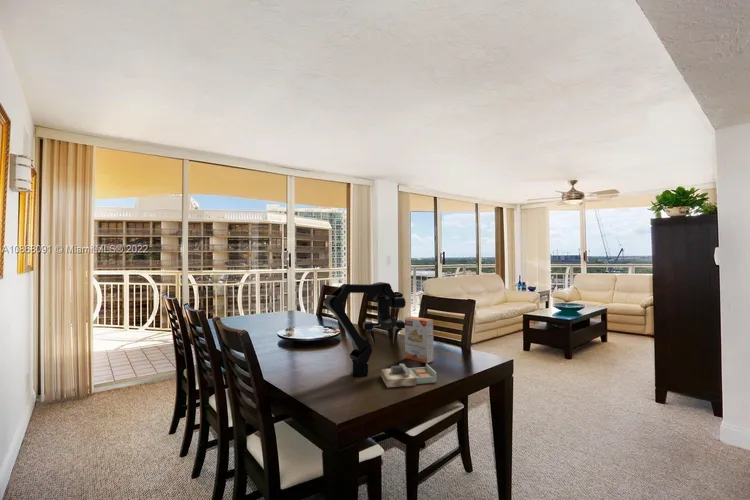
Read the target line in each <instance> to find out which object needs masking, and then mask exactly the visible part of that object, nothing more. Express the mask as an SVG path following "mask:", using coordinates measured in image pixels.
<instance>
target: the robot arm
mask: <svg viewBox="0 0 750 500" xmlns="http://www.w3.org/2000/svg"><path fill="white" fill-rule="evenodd" d="M350 294H376V295H375V296H374V297H373V298H372V300H373V301H376V302H377V322H375V323H374V322H372V321H363V323H362V329H364V330H365V331H366V332H368V333H369V334H370V337H371V340H372V343H373V345H375V344H376V340H375V330H374V328H381V329H382V330H386V329H392V328H393V330H392V343H393V344H395V342H396V340H397V337H398V334H399V332H400V331H402V330H403V329H405V321H403V320H402V319H401V320H399V319H397V316H394V317H393V316H392V317H391V309H392V310H395V309H397V310H398V309H405V307H406V303H407V302H406V299H405V297H404V294H403V293H395V292H394V290H393V288H392V286H391V284H390V283H388V282H382V281H379V282H374V283H369V284H368V283H367V284H356V283H353V284H350V283H342V285H340V287H338V288H337V289H335V290H334V291H333V292H332V293H331V294H330V295H329V294H328V295H327V296H325V298H324V301H323V304H324V306H325V308H327V310H328V311H330V313H332V314H333V315H334V316H335V317H336V319H337V320H338V322H339V323H340V325H341V326H342V328H343V329H344V331H345V333H346V334H347V336H348V338H349V339H350V340H351V343H352V347H353V350H352V351H351V352H350V353H349V357H350V360H351V376H352V377H353V378H357V377H368V375H369V374H368V373H369V360H370V357H371V355H372V352H373V348H372V347H373V345H372V344H370V341H369V339H368V338H366V337H364V336H363V335H362V336H361V335H360V333H359V332H358V330H357V328H356V327H355V325H354V324H353V322H352V321H351V319H350V317H349V316H348V314H347V312H346V310H345V305H344V304H343V303H344V302H345V301H346V300H347V298H348V296H349V295H350Z"/></svg>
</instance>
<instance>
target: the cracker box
mask: <svg viewBox="0 0 750 500" xmlns="http://www.w3.org/2000/svg"><path fill="white" fill-rule="evenodd" d="M404 323H405V328H404V346H405V347H404V352H405V353H404V354H405V355H404V359H408V360H412V361H416V362H419V363H422V364H423V363H424V364H425V365H426V364H429V363H433V362H434V360H435V359H434V356H435V355H434V353H435V351H434V320H433V319H432V318H431V319H430V318H425V317H418V316H406V317H404Z"/></svg>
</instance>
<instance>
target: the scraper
mask: <svg viewBox="0 0 750 500" xmlns="http://www.w3.org/2000/svg"><path fill="white" fill-rule="evenodd" d="M408 368H409V367H408ZM408 368H407V366H406V364H405V363H399V365H391V366H390V369H391V372H392V374H402V373H404V374H405V375H410V371H409V369H408Z"/></svg>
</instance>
